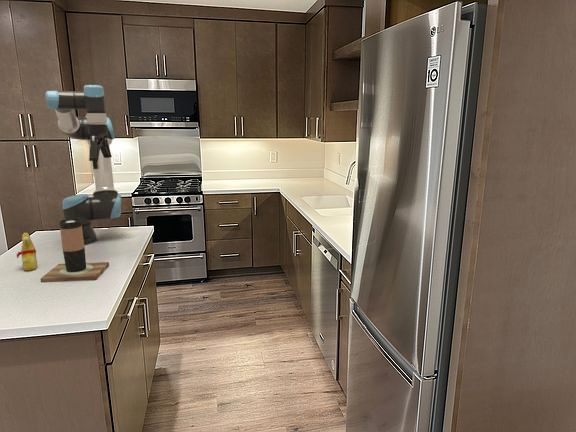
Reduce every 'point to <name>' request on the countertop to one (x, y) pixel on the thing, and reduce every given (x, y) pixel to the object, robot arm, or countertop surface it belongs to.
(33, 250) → the chocolate bunny
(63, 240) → the travel mug
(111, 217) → the robot arm
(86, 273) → the walnut board
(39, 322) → the countertop surface
